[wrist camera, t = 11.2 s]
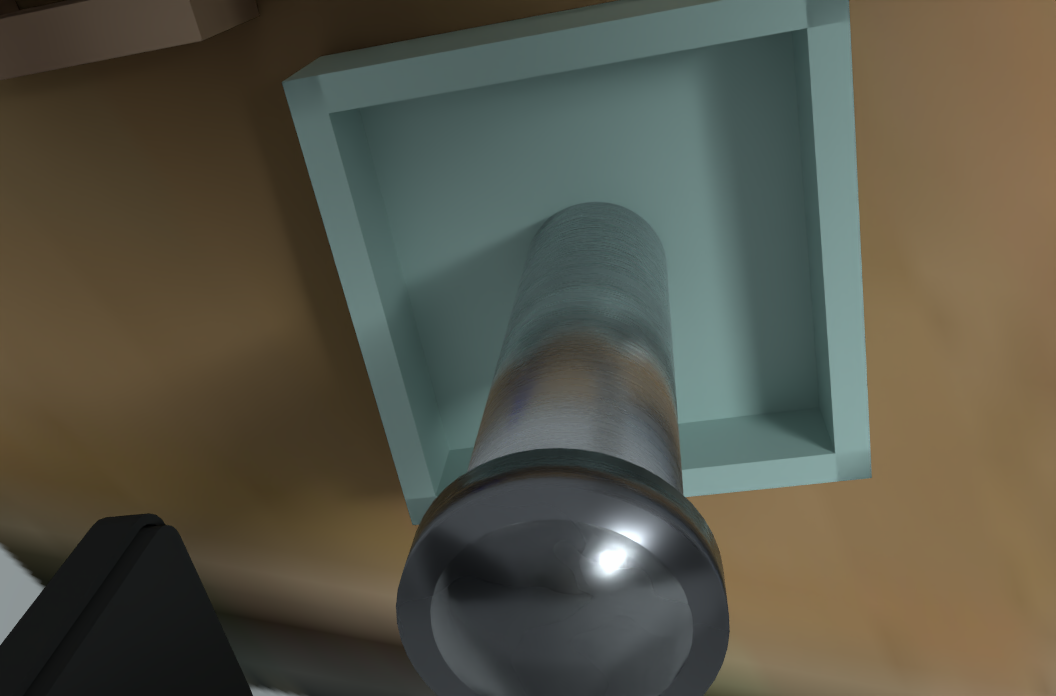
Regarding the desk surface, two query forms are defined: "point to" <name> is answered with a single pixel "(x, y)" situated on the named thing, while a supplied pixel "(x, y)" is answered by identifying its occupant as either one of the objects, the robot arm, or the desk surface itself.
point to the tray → (619, 178)
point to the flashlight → (573, 495)
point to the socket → (107, 30)
